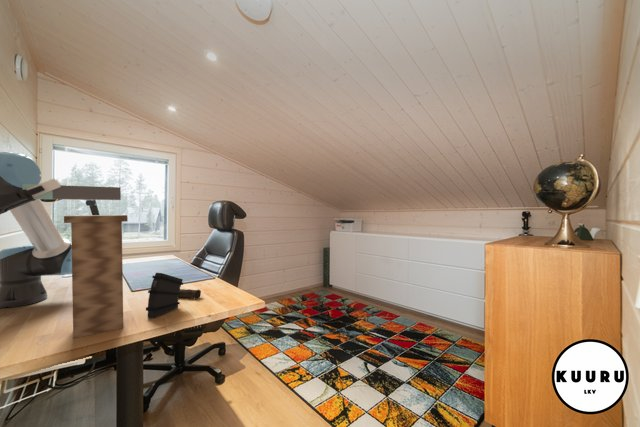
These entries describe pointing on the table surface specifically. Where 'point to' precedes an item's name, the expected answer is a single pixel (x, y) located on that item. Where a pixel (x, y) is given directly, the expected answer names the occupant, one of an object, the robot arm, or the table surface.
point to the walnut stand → (96, 273)
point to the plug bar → (80, 193)
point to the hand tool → (190, 293)
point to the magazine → (163, 295)
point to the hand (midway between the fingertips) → (58, 183)
